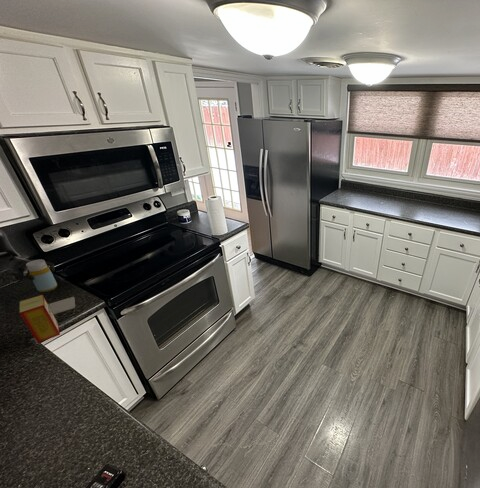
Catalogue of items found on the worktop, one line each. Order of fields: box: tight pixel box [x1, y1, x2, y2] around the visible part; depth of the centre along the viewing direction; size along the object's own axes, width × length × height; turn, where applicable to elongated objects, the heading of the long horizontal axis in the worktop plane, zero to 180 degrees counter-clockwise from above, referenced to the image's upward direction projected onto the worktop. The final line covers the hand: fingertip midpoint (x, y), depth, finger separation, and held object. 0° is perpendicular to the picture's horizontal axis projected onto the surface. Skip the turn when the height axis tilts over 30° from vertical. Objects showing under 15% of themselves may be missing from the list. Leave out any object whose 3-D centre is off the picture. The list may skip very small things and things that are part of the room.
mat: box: [47, 296, 76, 316], centre depth 125 cm, size 12×11×1 cm
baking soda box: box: [19, 294, 61, 344], centre depth 107 cm, size 10×6×16 cm
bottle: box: [26, 258, 58, 293], centre depth 127 cm, size 7×7×15 cm
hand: (43, 274), depth 126 cm, fingers closed on bottle, 7 cm apart
